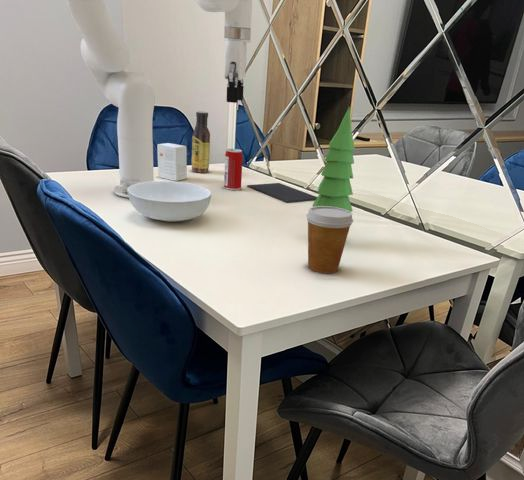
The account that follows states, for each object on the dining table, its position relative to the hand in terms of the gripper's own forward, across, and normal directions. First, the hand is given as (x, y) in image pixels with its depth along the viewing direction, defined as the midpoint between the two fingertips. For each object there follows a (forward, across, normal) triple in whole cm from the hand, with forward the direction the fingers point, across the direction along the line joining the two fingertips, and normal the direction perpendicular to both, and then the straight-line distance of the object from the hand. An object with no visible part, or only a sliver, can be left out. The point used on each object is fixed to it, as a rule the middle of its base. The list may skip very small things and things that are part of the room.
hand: (234, 101), depth 161 cm
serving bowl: (+25, +42, -8) cm, 50 cm away
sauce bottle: (+26, -19, -15) cm, 36 cm away
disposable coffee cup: (+26, +67, +32) cm, 78 cm away
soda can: (+26, +2, +1) cm, 26 cm away
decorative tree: (+26, +47, +32) cm, 62 cm away
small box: (+26, -4, -21) cm, 33 cm away
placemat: (+26, +1, +17) cm, 31 cm away
